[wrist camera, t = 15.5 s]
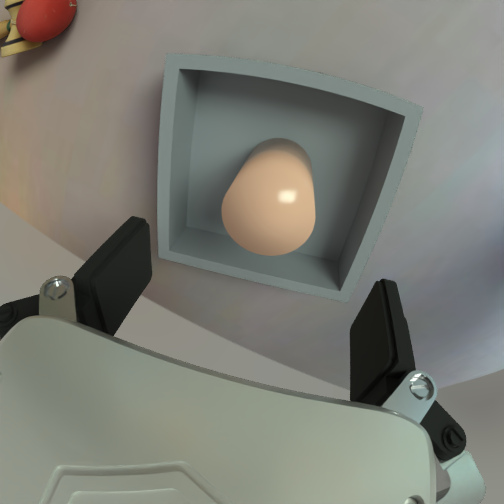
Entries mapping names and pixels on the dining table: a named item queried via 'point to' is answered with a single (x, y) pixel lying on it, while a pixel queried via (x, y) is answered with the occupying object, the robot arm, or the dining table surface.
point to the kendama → (34, 23)
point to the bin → (267, 127)
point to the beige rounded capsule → (271, 199)
